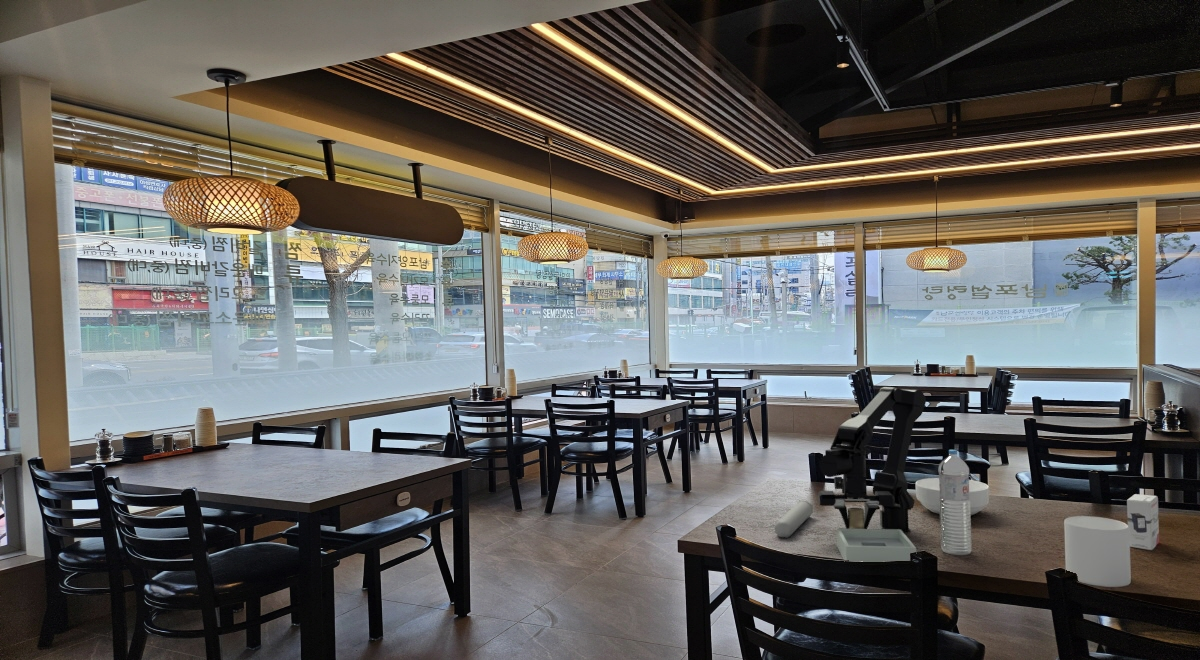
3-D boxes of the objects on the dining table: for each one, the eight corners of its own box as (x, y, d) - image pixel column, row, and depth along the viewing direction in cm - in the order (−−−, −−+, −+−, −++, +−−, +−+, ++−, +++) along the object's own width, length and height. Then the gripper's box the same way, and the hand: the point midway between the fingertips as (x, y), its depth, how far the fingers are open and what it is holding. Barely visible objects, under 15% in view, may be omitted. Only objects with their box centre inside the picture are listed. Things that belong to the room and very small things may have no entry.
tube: (793, 526, 195) (815, 504, 217) (774, 517, 197) (798, 497, 219) (788, 544, 196) (810, 520, 218) (769, 535, 198) (793, 513, 220)
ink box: (1135, 539, 186) (1134, 492, 186) (1160, 542, 183) (1158, 495, 183) (1127, 546, 180) (1126, 498, 180) (1152, 550, 177) (1151, 501, 177)
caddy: (901, 547, 186) (900, 529, 186) (916, 567, 170) (916, 547, 170) (837, 546, 188) (836, 528, 188) (846, 565, 173) (846, 546, 173)
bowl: (1003, 513, 215) (1002, 484, 215) (966, 525, 204) (965, 495, 204) (939, 501, 231) (938, 475, 231) (902, 512, 220) (901, 484, 220)
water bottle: (957, 557, 176) (954, 453, 176) (934, 550, 183) (931, 449, 183) (978, 553, 179) (974, 450, 179) (954, 546, 185) (951, 447, 185)
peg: (863, 537, 195) (862, 507, 195) (866, 542, 191) (865, 511, 191) (847, 537, 196) (846, 507, 196) (849, 541, 192) (849, 511, 192)
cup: (1126, 591, 152) (1125, 533, 152) (1061, 579, 159) (1059, 524, 159) (1134, 576, 160) (1132, 521, 160) (1071, 565, 168) (1069, 513, 168)
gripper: (885, 466, 200) (887, 523, 200) (814, 466, 203) (816, 522, 203) (894, 474, 189) (896, 535, 189) (819, 474, 192) (821, 533, 192)
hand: (856, 531), depth 193 cm, fingers closed on peg, 4 cm apart
